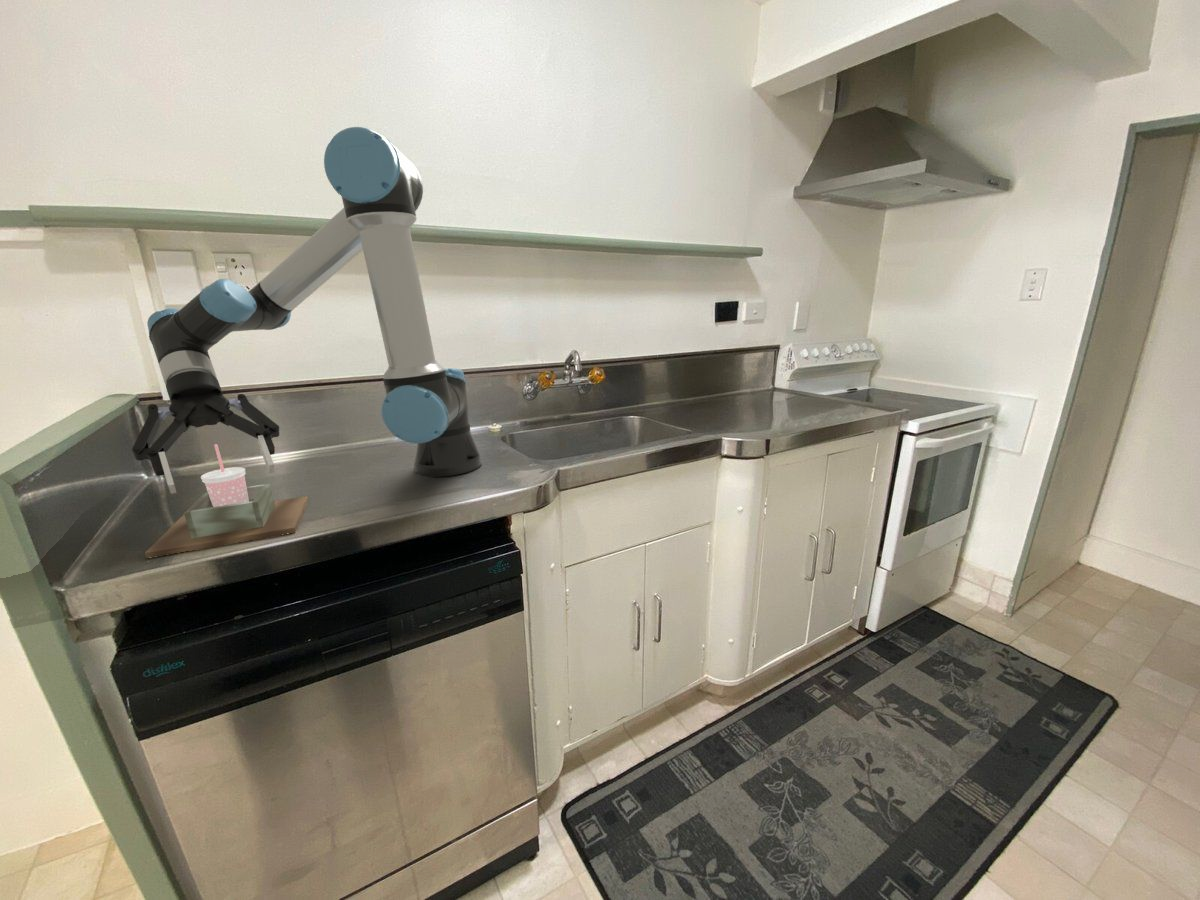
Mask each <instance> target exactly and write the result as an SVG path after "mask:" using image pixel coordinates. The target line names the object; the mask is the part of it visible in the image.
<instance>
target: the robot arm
mask: <svg viewBox="0 0 1200 900" xmlns="http://www.w3.org/2000/svg"><path fill="white" fill-rule="evenodd" d="M323 167H324V172H325V175H326V178H327V180H328V182H329V183H330V185H331V186H332V188H333V190H335V192H336V193H337V194H338V195H340V197H341V199H342V204H343V208H342V209H341V210H339V211H338V212H337V213H336V214H335V215H334V216H333V217H332V218H330V219H329V220H328V221H327V222H326V223H325V224H324V225H322V226H321V227H320V228H319V229H318V230H317V231H315V233H313V234H312V235H311V236H310V237H309V238H307V240H306V241H304V242H303V243H302V244H301V245H300V246H298V247H297V249H295V250H294V251H293V252H292V253H290V254H289V256H287V257H286V258H285V259H284V260H283V261H282V262H280V263H279V264H278V265H277V266H276V267H275V268H273V270H272V271H270V272H269V273H268V274H267V275H266V276H265V277H264V278H262V279H261V280H260V281H259V282H258V283H257V284H256V285H255V286H254V287H252V288H250V290H247V288H244V287H243V286H242V285H241V284H239V283H238V282H234V281H232V280H230V279H227V278H220V279H217V280H215V281H214V282H212V283H211V284H208V285H207V286H205V287H204V288H202V289H201V291H200V292H199V293H197V295H195V297H193V298H192V299H191V300H190V301H189V302H187V303H186V305H184V306H183V307H181V308H180V309H179V308H170V307H169V308H164V309H163V310H160V311H159V310H156V311H155V312H153V313H152V314H151V315H150V316H149V317H148V319H147V322H146V323H147V329H148V338H149V341H150V343H151V345H152V348H153V350H154V351H153V352H154V354H155V357H156V360H157V362H158V367H159V369H160V373H161V376H162V379H163V380H162V381H163V382H164V385H165V388H166V392H167V395H168V398H169V401H170V405H168V406H159V407H158V405H157V404H155V403H151V404H149V405H148V406H147V412H148V416H147V418H146V420H145V422H144V424H143V426H142V428H141V430H140V432H139V433H138V436H137V438H136V440H135V442H134V444H133V447H131V451H132V454H133V457H134V459H135V460H136V461H144V460H149V462H150V463H151V466H152V470H153V472H154V473H153V474H154V475H155V476H156V477H160V476H164V477H165V481H166V483H167V487H168V490H169V493H170V495H173V494H177V489H176V485H175V483H174V482H175V481H174V478H173V476H172V473H171V469H170V466H169V463H168V459H167V456H166V453H167V452H168V451H169V450H170V449H171V447H172V446H173V444H175V443H176V441H178V439H179V438H180V437H181V436H182V435H183V434H184V433H186V432H187V431H188V430H189V429H190V428H191V427H194V428H195V429H196V428H201V427H205V426H215V425H218V424H219V423H221V424H223V425H225V426H228V427H229V426H231V427H233V428H234V429H237V430H238V431H240V432H242V433H244V434H247V435H249V436H250V437H253V438H255V439H257V444H258V447H259V449H260V452H261V456H262V458H263V460H264V463H265V466H266V468H267V471H268V473H269V474H272V473H274V472H275V464H274V461H273V458H272V456H271V455H274V454H275V452H276V451H275V448H276V447H275V444H274V442H273V438H278V437H279V436H280V426H279V424H277V423H276V422H275V421H273V420H272V419H271V418H269V417H268V416H267V415H265V414H264V413H263V412H262V411H261V410H259V409H258V407H257V408H256V406H254V405H253V404H252V403H250V402H249V400H248V398H247V396H246V395H245V394H244V393H240V394H238V395H237V397H235V398H230V399H228V398H227V397H226V396H224V393H223V389H222V388H221V385H220V382H219V379H218V377H217V374H216V372H215V368H214V366H213V363H212V360H211V356H210V354H209V350H210V349H212V347H213V346H216V344H218V343H219V342H220V341H222V340H223V339H224V338H225V337H226V336H228V335H229V334H230V333H233V332H242V331H243V332H244V331H257V330H259V331H260V330H261V331H262V330H264V331H270V330H271V331H272V330H275V329H279V328H282V327H284V326H286V325H287V324H288V323H289V322H290V320H291V319H290V318H291V315H292V311H293V310H295V309H296V308H297V307H298V306H299V305H300V304H302V303H303V302H304V301H305V300H307V298H309V297H310V296H311V295H312V294H314V293H315V292H316V291H317V290H318V289H319V288H321V287H322V286H323V285H324V284H325V283H326V282H328V281H329V280H330V279H331V278H332V277H333V276H335V275H336V274H337V273H338V272H339V271H340V270H342V268H344V267H345V266H346V265H347V264H349V263H350V262H351V261H352V260H353V259H355V258H356V257H357V256H358V255H359V254H360V253H361V252H362V251H363V255H364V260H365V265H366V268H367V273H368V278H369V283H370V287H371V291H372V295H373V301H374V304H375V310H376V315H377V319H378V323H379V328H380V332H381V337H382V342H383V346H384V349H385V350H384V351H385V355H386V359H387V364H388V368H387V369H386V371H385V372H384V373H383V375H382V381H383V386H384V389H385V398H384V399H383V400H382V401H383V402H382V405H381V417H382V421H383V423H384V425H385V427H386V428H387V430H388V431H389V432H390V433H391V434H392V435H393V436H394V437H397V438H398V439H400V440H401V441H402V442H403V441H404V442H406V443H410V444H416V449H415V454H414V459H413V466H414V472H415V474H417V475H419V476H422V477H430V478H431V477H433V478H435V477H436V478H439V477H441V478H442V477H451V476H457V475H461V474H465V473H469V472H472V471H475V470H476V469H478V468H479V467H480V466H481V465H482V455H481V451H480V450H479V447H478V445H477V443H476V441H475V439H474V437H473V434H472V432H471V424H470V423H471V422H470V415H469V414H470V413H469V405H468V397H467V387H466V386H467V381H466V379H465V374H464V371H463V370H462V369H461V368H454V367H453V368H445V367H444V366H442V365H441V364H440V363H438V362H437V360H436V358H435V351H434V348H433V342H432V336H431V333H430V327H429V322H428V315H427V311H426V307H425V306H426V305H425V301H424V300H425V299H424V295H423V291H422V286H421V281H420V275H419V270H418V265H417V264H418V263H417V260H416V259H417V258H416V254H415V249H414V244H413V239H412V234H411V230H412V229H411V228H412V226H414V224H415V223H416V221H417V213H416V212H417V210H418V209H419V207H420V205H421V202H422V199H423V195H424V187H423V181H422V180H423V179H422V177H421V174H420V172H419V171H418V169H417V167H416V166H415V164H414V163H413V162H412V160H410V159H409V158H408V157H407V156H406V155H405V154H403V153H402V152H401V151H400V150H399V149H398V148H397V147H396V146H395V145H394V144H393V143H392V142H391V141H390V140H389V139H388V138H387V137H385V136H384V135H382V134H380V133H378V132H376V131H374V130H372V129H370V128H367V127H362V126H352V127H350V126H349V127H348V128H344V129H342V130H340V131H339V132H337V133H335V135H334V136H333V137H332V138H331V140H330V142H329V143H327V146H326V149H325V151H324V157H323ZM231 407H232V408H235V409H236V410H237V411H241V412H242V414H244V415H245V416H246V417H247V418H249V419H250V420H249V419H246V418H245V417H242V416H241V415H239V414H237V413H234V411H233V410H231V409H230V408H231ZM169 415H171V416H172V417H174V419H173V421H172V422H171V423H170V425H168V427H167V428H166V429H165V430H164V431H163V432H162V434H161V435H159V437H158V438H156V440H155V437H156V435H157V433H158V431H159V429H160V426H161V422H163V421H165V419H166V417H167V416H169ZM252 421H253V422H252ZM154 440H155V441H154Z"/></svg>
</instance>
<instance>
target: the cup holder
mask: <svg viewBox="0 0 1200 900" xmlns="http://www.w3.org/2000/svg"><path fill="white" fill-rule="evenodd" d="M246 487H247V493H248V499H249V502H244V503H238V504H231V505H224V506H218V507H213V505H212V502H211V499H210V497H209V494H208V491H206V492H203V494H202V495H200V497H198V498H197V500H195V501H194V502H193V504H192V505H190V507H188V508H187V510H185V512H183V515H181V516H180V518H179V519H178V520H176V521H175V522H174V523H173V524H172V525H171V527H169V528H168V530H167V531H166V532H165V533H163V535H162V536H160V537H159V538H158V539H157V540H156V541H155V542H154V543H153V545H151V546H150V547H149V548H148V549H147V550H146V551H145V552H144V555H145V558H149V557H155V556H161V557H163V556H162V555H167V554H173V555H175V554H174V553H178V554H181V553H180V552H184V553H186V552H185V551H190V552H193V551H192V550H195V551H198V550H197V549H201V550H205V549H204V548H207V549H211V548H210V547H212V548H217V547H216V546H218V547H223V546H222V545H224V546H228V545H227V544H229V545H233V544H232V543H235V544H240V543H239V542H241V543H245V542H244V541H247V542H250V541H249V540H252V541H257V539H258V540H262V539H263V538H264V539H268V538H267V537H269V538H274V537H273V536H275V537H279V536H278V535H281V536H283V535H282V534H286V535H288V534H287V533H292V534H294V533H293V532H296V533H297V531H296V530H298V528H299V526H298V525H300V523H301V521H302V518H303V515H304V513H305V511H306V509H305V508H307V505H308V503H309V496H308V495H306V496H301V497H292V498H285V499H280V500H274V499H275V498H274V496H273V490H272V486H271V483H265V484H258V485H251V486H246ZM300 520H301V521H300ZM297 527H298V528H297ZM264 539H263V540H264ZM167 556H168V555H167Z"/></svg>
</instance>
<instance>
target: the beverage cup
mask: <svg viewBox="0 0 1200 900" xmlns="http://www.w3.org/2000/svg"><path fill="white" fill-rule="evenodd" d="M213 445H214V446H213V447H214V450H215V453H216V457H217V460H218V465H219V469H215V470H214V469H213V470H211V471H208V472H205V473H204V474H202V475H201V476H200V479H201V481H202V483H204V485H205V487H206V492H208V494H209V497H210V499H211V502H212V505H213V507H218V506H224V505H231V504H238V503H244V502H249V499H248V493H247V487H248V486H247V483H246V477H245V475H246V468H245V467H242V466H241V467H240V466H235V467H234V466H233V467H224V463H223V460H222V456H221V452H220V449H219V445H218V444H217V443H215V444H213Z"/></svg>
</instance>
